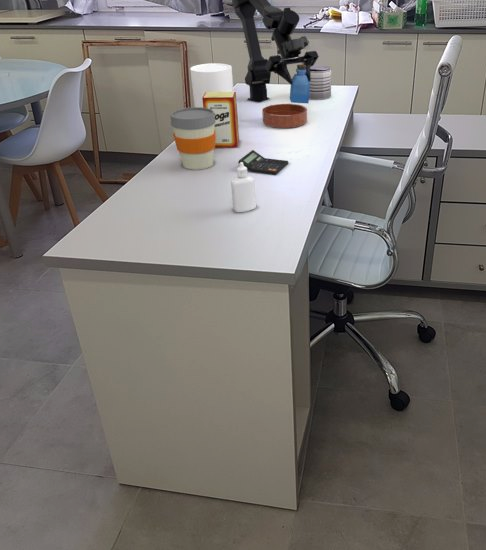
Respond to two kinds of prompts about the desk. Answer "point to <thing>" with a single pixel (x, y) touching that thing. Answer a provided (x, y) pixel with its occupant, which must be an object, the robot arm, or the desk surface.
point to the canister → (210, 80)
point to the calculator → (262, 163)
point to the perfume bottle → (300, 86)
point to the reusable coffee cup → (194, 136)
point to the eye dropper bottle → (243, 190)
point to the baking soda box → (223, 117)
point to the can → (320, 82)
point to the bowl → (284, 115)
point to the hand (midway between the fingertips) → (300, 82)
